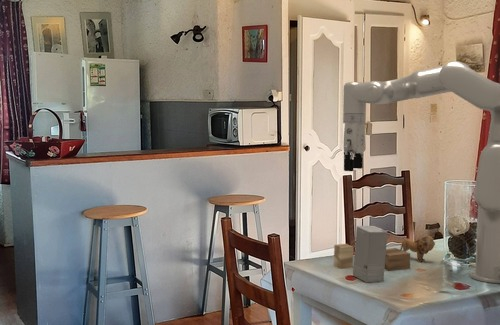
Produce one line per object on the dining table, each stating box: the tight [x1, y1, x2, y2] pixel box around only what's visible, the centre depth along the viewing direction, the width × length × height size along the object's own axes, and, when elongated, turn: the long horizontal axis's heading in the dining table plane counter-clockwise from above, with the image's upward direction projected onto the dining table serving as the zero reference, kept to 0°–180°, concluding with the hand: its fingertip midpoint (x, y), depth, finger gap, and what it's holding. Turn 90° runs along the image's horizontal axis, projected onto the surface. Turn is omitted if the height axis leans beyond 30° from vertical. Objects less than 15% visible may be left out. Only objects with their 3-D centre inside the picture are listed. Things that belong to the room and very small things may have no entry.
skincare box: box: [352, 225, 389, 283], centre depth 184 cm, size 8×7×16 cm
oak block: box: [333, 243, 354, 270], centre depth 198 cm, size 4×4×7 cm
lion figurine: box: [399, 235, 436, 264], centre depth 207 cm, size 15×5×9 cm, turn 44°
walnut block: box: [384, 247, 411, 272], centre depth 198 cm, size 8×8×5 cm
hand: (353, 169), depth 204 cm, fingers open, 9 cm apart
